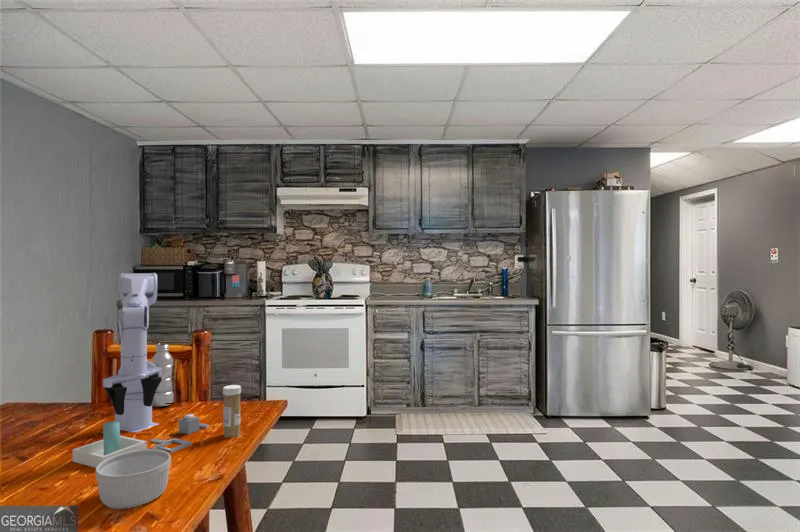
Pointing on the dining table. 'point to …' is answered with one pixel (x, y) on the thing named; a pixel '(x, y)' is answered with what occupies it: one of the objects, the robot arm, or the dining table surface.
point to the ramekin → (133, 478)
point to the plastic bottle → (163, 376)
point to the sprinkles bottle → (231, 411)
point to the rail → (158, 441)
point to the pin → (111, 437)
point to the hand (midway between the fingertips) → (134, 409)
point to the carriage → (188, 424)
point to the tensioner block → (169, 450)
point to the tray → (95, 451)
